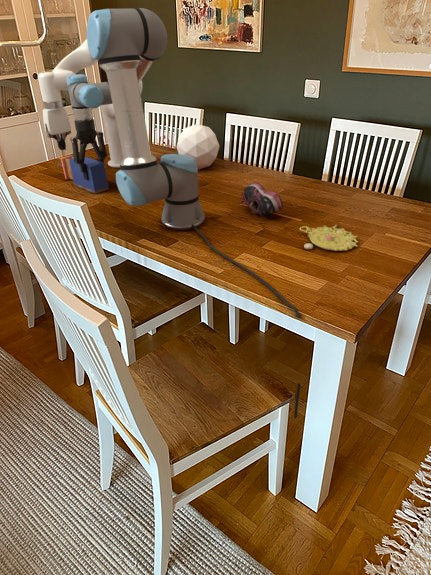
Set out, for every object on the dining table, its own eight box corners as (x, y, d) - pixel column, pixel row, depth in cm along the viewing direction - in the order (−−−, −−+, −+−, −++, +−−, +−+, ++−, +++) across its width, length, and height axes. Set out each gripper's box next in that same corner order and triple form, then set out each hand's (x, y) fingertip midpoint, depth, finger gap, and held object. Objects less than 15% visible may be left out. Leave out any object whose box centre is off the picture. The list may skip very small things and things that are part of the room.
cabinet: (74, 185, 192) (68, 159, 186) (87, 181, 196) (82, 155, 190) (95, 193, 182) (89, 166, 176) (108, 189, 185) (104, 162, 180)
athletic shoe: (254, 181, 170) (227, 189, 167) (283, 176, 151) (253, 185, 147) (260, 210, 173) (234, 218, 170) (290, 209, 154) (261, 219, 150)
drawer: (58, 176, 201) (54, 155, 197) (69, 173, 205) (65, 152, 200) (83, 186, 188) (79, 164, 183) (94, 182, 191) (90, 161, 186)
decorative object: (343, 255, 128) (285, 234, 139) (342, 262, 130) (284, 241, 140) (372, 230, 142) (317, 213, 152) (371, 237, 143) (316, 219, 153)
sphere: (204, 184, 208) (201, 158, 189) (171, 163, 213) (165, 136, 194) (227, 156, 213) (227, 128, 194) (194, 137, 217) (191, 107, 199)
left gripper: (65, 101, 191) (73, 144, 201) (32, 106, 182) (42, 151, 192) (74, 103, 186) (82, 147, 196) (40, 109, 178) (50, 154, 188)
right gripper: (100, 113, 179) (109, 169, 191) (56, 122, 168) (68, 181, 180) (110, 116, 174) (119, 173, 187) (65, 125, 163) (77, 185, 175)
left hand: (62, 149), depth 194 cm, fingers closed
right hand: (94, 177), depth 183 cm, fingers closed on cabinet, 7 cm apart
